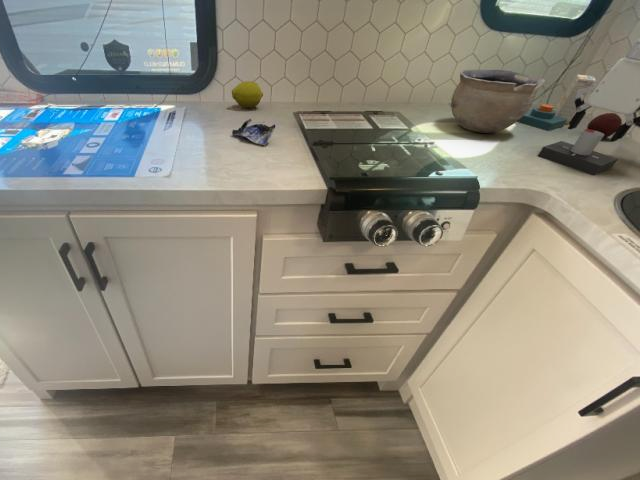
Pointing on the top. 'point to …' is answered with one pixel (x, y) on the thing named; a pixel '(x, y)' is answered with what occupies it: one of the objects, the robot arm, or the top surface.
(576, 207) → the top surface
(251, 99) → the lemon
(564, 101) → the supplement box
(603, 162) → the dial base
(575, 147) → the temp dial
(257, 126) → the snack package
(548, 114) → the block
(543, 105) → the button
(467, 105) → the ceramic bowl
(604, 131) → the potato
